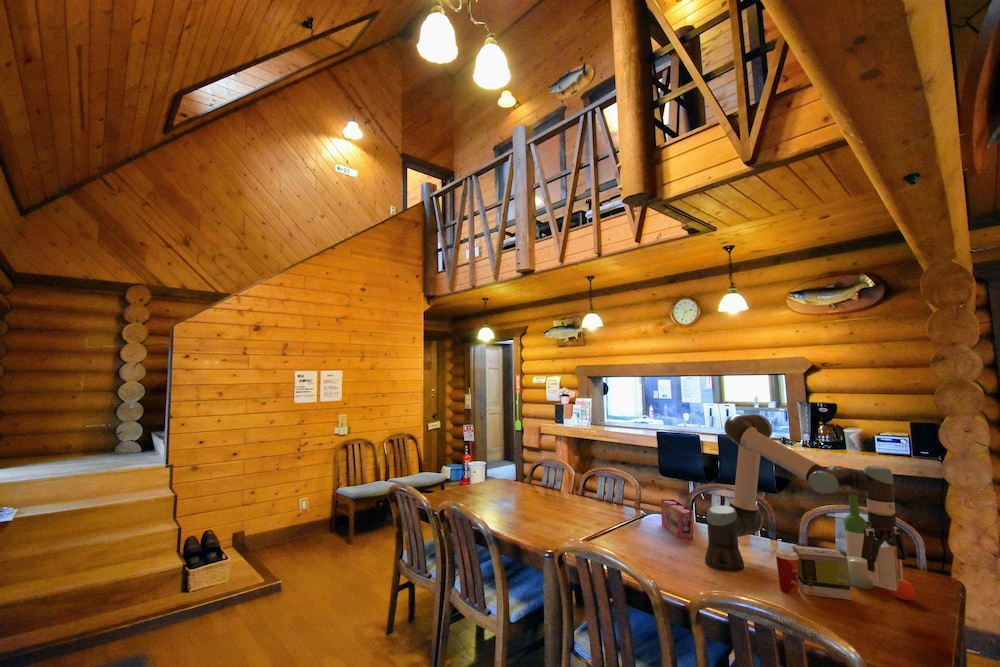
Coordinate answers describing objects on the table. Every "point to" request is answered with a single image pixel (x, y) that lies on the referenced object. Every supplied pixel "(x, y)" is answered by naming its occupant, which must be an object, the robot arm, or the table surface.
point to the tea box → (823, 572)
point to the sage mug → (859, 573)
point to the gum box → (677, 518)
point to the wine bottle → (854, 529)
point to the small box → (887, 567)
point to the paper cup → (787, 571)
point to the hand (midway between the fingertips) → (886, 579)
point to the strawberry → (904, 590)
